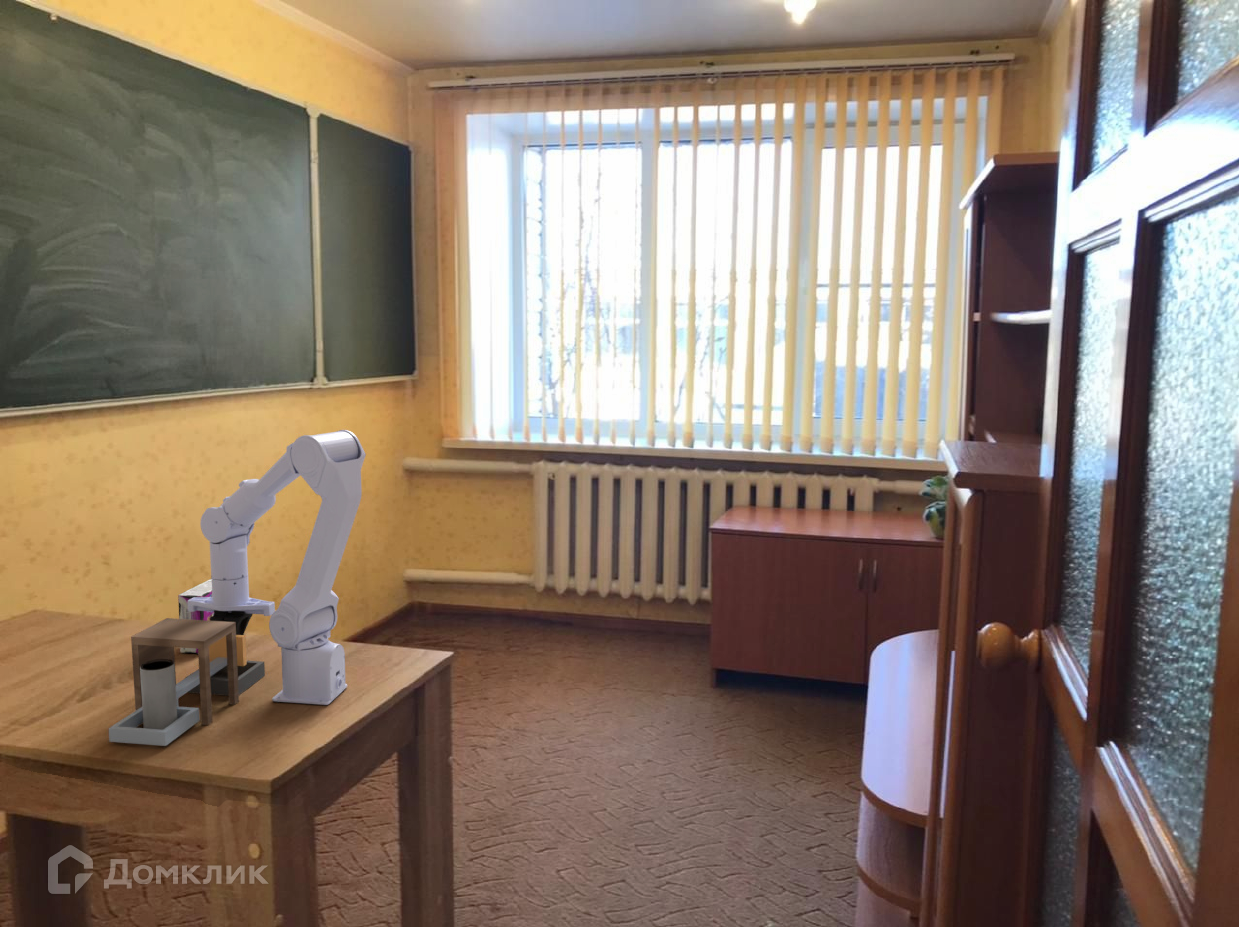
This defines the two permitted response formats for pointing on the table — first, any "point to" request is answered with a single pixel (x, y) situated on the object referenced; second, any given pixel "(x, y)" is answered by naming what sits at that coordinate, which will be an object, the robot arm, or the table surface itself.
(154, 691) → the gray cylinder
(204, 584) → the candy bar box
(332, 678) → the robot arm
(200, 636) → the tunnel
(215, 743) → the table surface
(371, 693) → the table surface
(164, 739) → the slider
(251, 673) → the box
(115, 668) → the table surface
